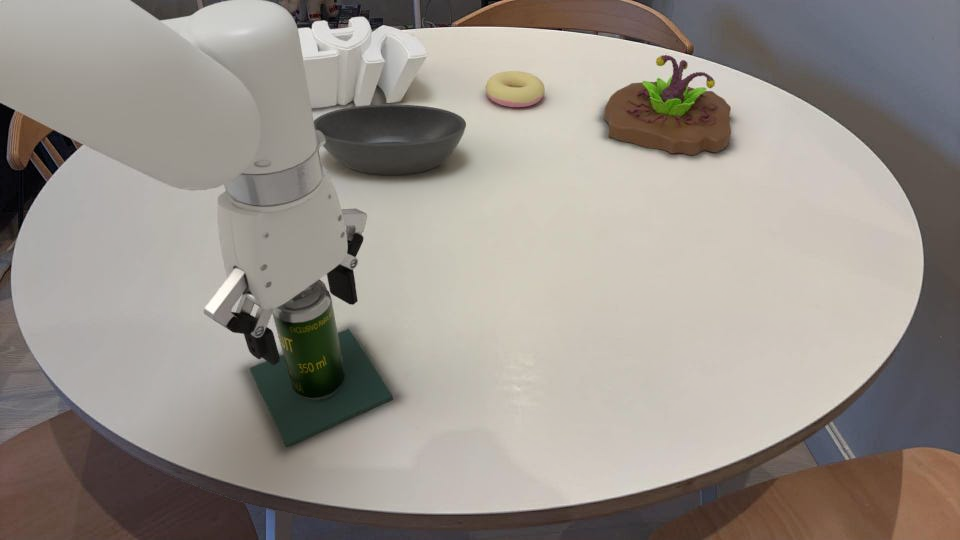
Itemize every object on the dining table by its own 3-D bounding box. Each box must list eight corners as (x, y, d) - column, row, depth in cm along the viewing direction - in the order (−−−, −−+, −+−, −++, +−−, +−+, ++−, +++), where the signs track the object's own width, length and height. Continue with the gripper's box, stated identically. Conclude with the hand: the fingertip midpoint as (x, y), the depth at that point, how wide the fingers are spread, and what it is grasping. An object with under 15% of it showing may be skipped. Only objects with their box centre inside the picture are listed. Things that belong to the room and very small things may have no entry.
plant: (613, 88, 122) (621, 25, 115) (728, 102, 118) (745, 37, 111) (596, 144, 107) (604, 75, 100) (727, 162, 103) (746, 92, 96)
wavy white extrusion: (416, 67, 129) (413, 10, 122) (432, 108, 116) (430, 47, 110) (219, 87, 122) (204, 27, 116) (214, 132, 110) (197, 69, 103)
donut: (528, 125, 116) (550, 95, 122) (532, 103, 113) (554, 73, 118) (475, 104, 119) (499, 76, 124) (477, 82, 115) (501, 53, 120)
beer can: (332, 354, 73) (315, 267, 66) (355, 387, 70) (339, 299, 62) (283, 376, 71) (259, 288, 63) (304, 411, 68) (281, 322, 60)
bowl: (465, 184, 99) (464, 146, 95) (310, 183, 99) (303, 145, 95) (467, 141, 108) (467, 104, 104) (325, 140, 108) (320, 103, 104)
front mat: (286, 447, 65) (285, 444, 65) (250, 370, 72) (249, 367, 72) (393, 399, 69) (392, 395, 69) (349, 331, 77) (348, 328, 76)
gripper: (320, 113, 61) (344, 263, 72) (144, 203, 51) (204, 363, 62) (383, 139, 58) (398, 292, 69) (209, 241, 47) (260, 403, 58)
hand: (306, 326), depth 65 cm, fingers open, 9 cm apart
